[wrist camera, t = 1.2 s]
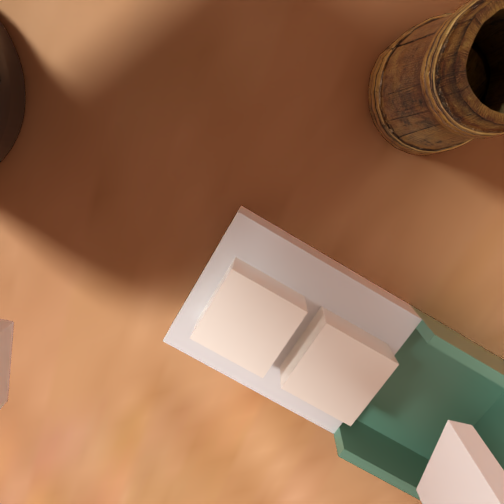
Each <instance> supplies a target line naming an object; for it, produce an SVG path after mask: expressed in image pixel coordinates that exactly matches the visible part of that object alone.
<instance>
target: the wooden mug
mask: <svg viewBox="0 0 504 504" xmlns="http://www.w3.org/2000/svg"><path fill="white" fill-rule="evenodd" d="M368 97H369V109H370V112H371V115H372V118H373V121H374V124H375V126H376V127H377V129H378V130H379V132H380V133H381V135H382V136H383V137H384V138H385V139H386V140H387V141H388V142H389V143H391V144H392V145H393V146H394V147H395V148H398V149H400V150H402V151H405V152H407V153H410V154H416V155H425V156H426V155H431V154H435V153H440V152H444V151H448V150H452V149H454V148H457V147H459V146H461V145H464V144H466V143H468V142H469V141H471V140H473V139H474V138H480V139H485V138H490V137H496V136H500V135H503V134H504V0H471V1H469V2H467V3H466V4H464V5H462V6H460V7H459V8H458V9H457V10H456V11H455V12H454V13H447V14H443V15H440V16H436V17H432V18H430V19H428V20H426V21H424V22H422V23H420V24H418V25H416V26H414V27H413V28H411V29H410V30H408V31H407V32H405V33H404V34H403V35H402V36H400V37H399V38H398V39H397V40H396V41H395V42H394V43H392V44H391V45H390V46H389V47H388V48H387V49H386V50H385V51H384V52H383V53H382V54H381V55H380V56H379V57H378V59H377V61H376V63H375V66H374V68H373V70H372V72H371V74H370V81H369V90H368Z"/></svg>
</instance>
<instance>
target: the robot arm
mask: <svg viewBox="0 0 504 504" xmlns="http://www.w3.org/2000/svg"><path fill="white" fill-rule="evenodd" d="M24 109H25V84H24V77H23V72H22V67H21V64H20V60H19V57H18V54H17V52H16V49H15V47H14V44H13V42H12V40H11V38H10V36H9V34H8V32H7V31H6V29H5V27H4V26H3V24H2V23H1V21H0V162H1V160H2V159H3V158H4V157H5V156H6V155H7V154H8V152H9V151H10V149H11V148H12V146H13V144H14V142H15V141H16V138H17V136H18V134H19V131H20V128H21V125H22V121H23V116H24ZM13 327H14V322H13V321H9V320H4V319H0V409H1V407H2V406H3V405H4V404H5V403H6V402H7V401H8V391H9V378H10V365H11V353H12V340H13ZM416 491H417V493H418V495H419V498H420V500H421V502H422V504H504V470H503V469H502V467H501V466H500V464H499V463H498V461H497V460H496V459H495V457H494V456H493V454H492V453H491V451H490V450H489V449H488V447H487V446H486V444H485V443H484V441H483V440H482V439H481V437H480V436H479V434H478V433H477V431H476V430H475V429H474V427H473V426H472V425H469V424H465V423H460V422H456V421H452V420H448V421H447V423H446V425H445V427H444V429H443V432H442V434H441V436H440V438H439V440H438V443H437V445H436V447H435V449H434V451H433V454H432V456H431V458H430V460H429V462H428V464H427V467H426V469H425V471H424V473H423V475H422V478H421V480H420V482H419V484H418V486H417V489H416Z"/></svg>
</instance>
